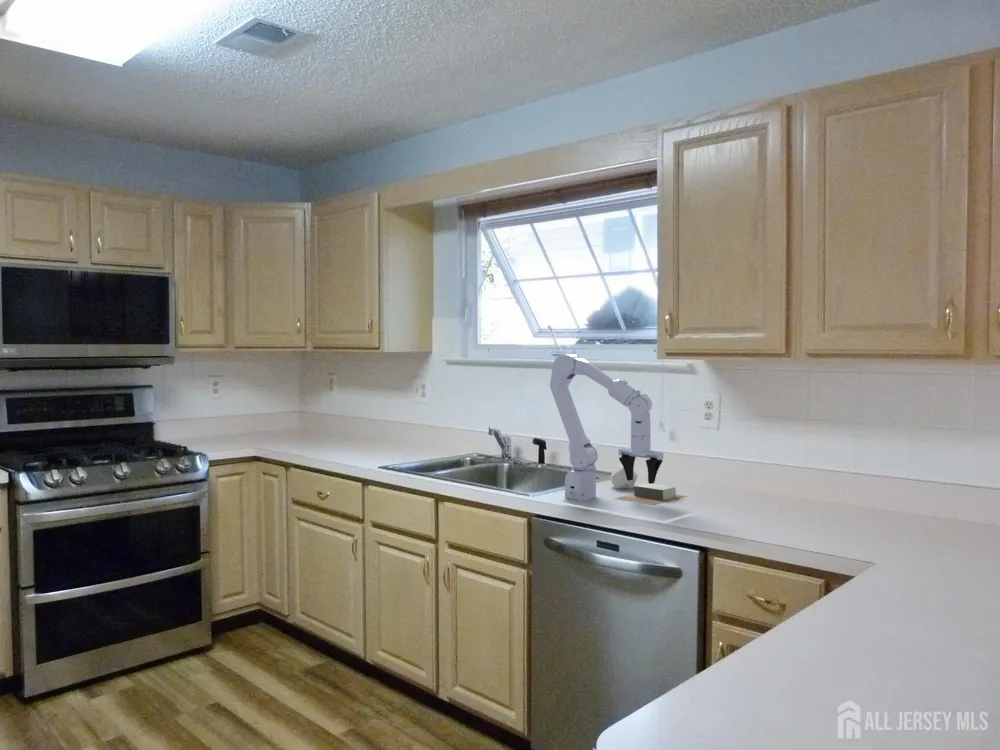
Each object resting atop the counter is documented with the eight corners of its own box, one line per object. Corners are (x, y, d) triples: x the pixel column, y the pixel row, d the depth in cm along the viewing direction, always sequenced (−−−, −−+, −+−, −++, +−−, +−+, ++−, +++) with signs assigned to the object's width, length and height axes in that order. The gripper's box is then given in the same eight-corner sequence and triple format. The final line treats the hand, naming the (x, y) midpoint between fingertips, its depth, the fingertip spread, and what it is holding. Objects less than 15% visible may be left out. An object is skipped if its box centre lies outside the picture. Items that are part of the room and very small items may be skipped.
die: (630, 494, 242) (644, 468, 244) (606, 480, 243) (620, 455, 246) (626, 499, 249) (640, 474, 252) (603, 485, 251) (616, 460, 254)
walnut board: (653, 507, 219) (653, 505, 219) (614, 500, 229) (613, 498, 229) (687, 498, 232) (687, 496, 232) (648, 492, 242) (648, 490, 242)
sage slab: (662, 490, 226) (675, 487, 231) (634, 486, 233) (647, 483, 238) (662, 500, 226) (675, 496, 231) (634, 495, 233) (647, 492, 238)
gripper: (669, 436, 224) (669, 482, 225) (628, 432, 234) (628, 477, 235) (655, 438, 219) (655, 486, 220) (614, 434, 229) (614, 480, 230)
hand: (640, 481), depth 227 cm, fingers open, 7 cm apart
